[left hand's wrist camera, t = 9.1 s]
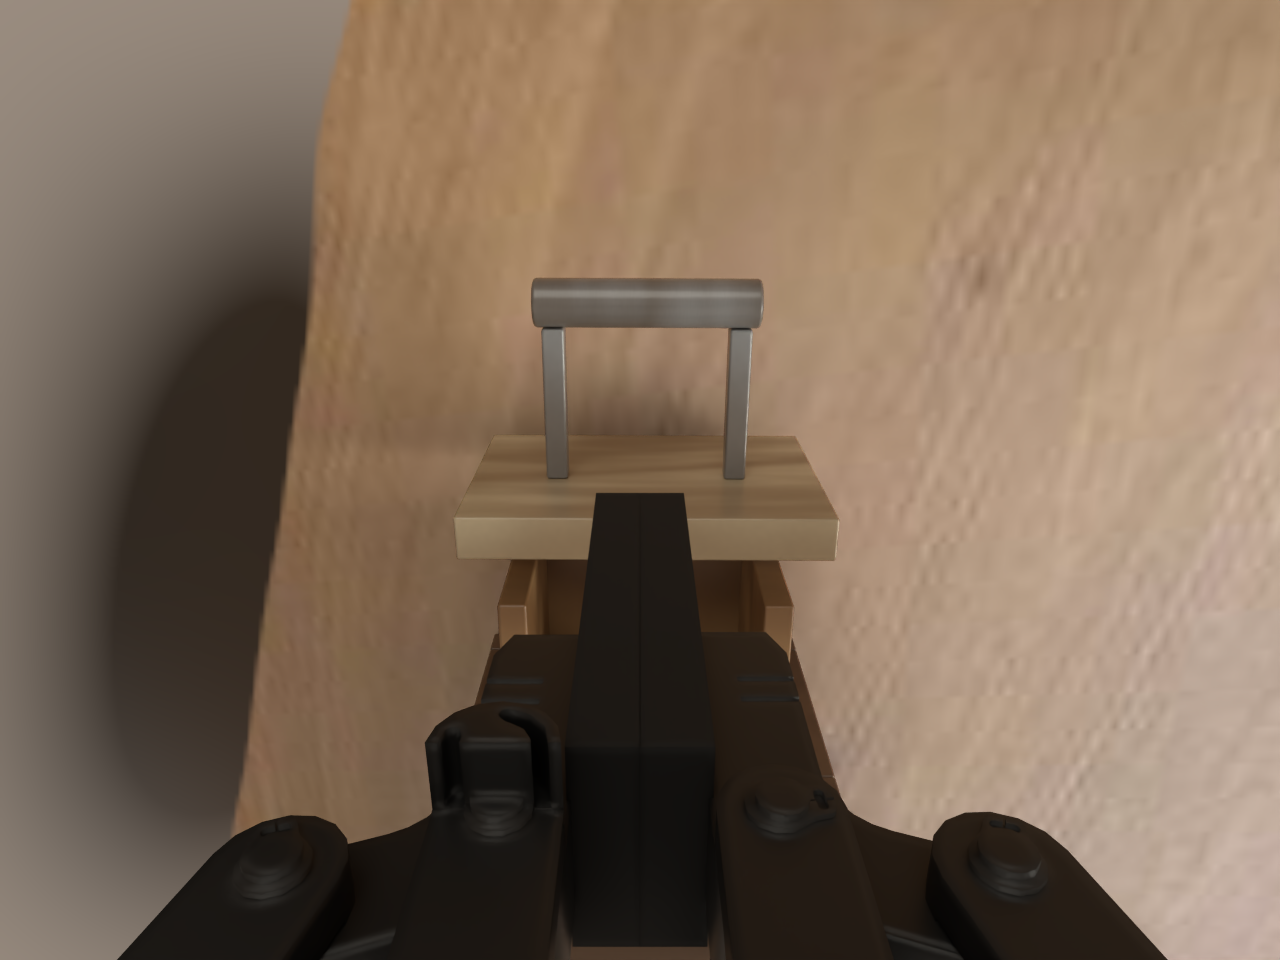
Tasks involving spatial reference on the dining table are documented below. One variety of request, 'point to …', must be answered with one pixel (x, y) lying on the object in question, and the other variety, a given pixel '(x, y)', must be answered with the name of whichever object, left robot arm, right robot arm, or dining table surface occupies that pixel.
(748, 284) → the drawer
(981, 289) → the dining table surface
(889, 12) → the dining table surface
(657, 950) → the brown box
